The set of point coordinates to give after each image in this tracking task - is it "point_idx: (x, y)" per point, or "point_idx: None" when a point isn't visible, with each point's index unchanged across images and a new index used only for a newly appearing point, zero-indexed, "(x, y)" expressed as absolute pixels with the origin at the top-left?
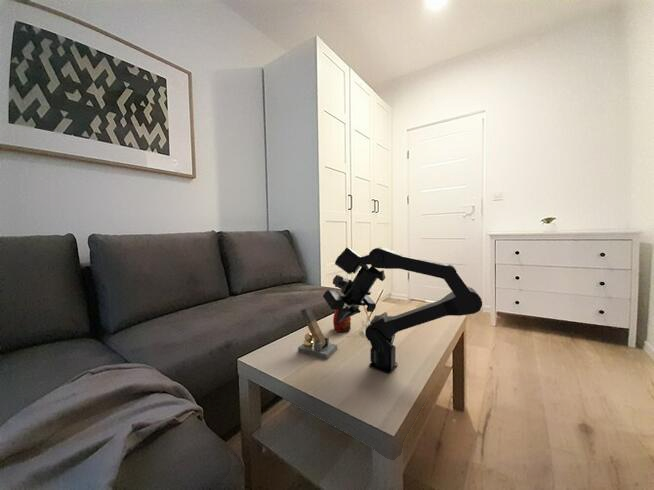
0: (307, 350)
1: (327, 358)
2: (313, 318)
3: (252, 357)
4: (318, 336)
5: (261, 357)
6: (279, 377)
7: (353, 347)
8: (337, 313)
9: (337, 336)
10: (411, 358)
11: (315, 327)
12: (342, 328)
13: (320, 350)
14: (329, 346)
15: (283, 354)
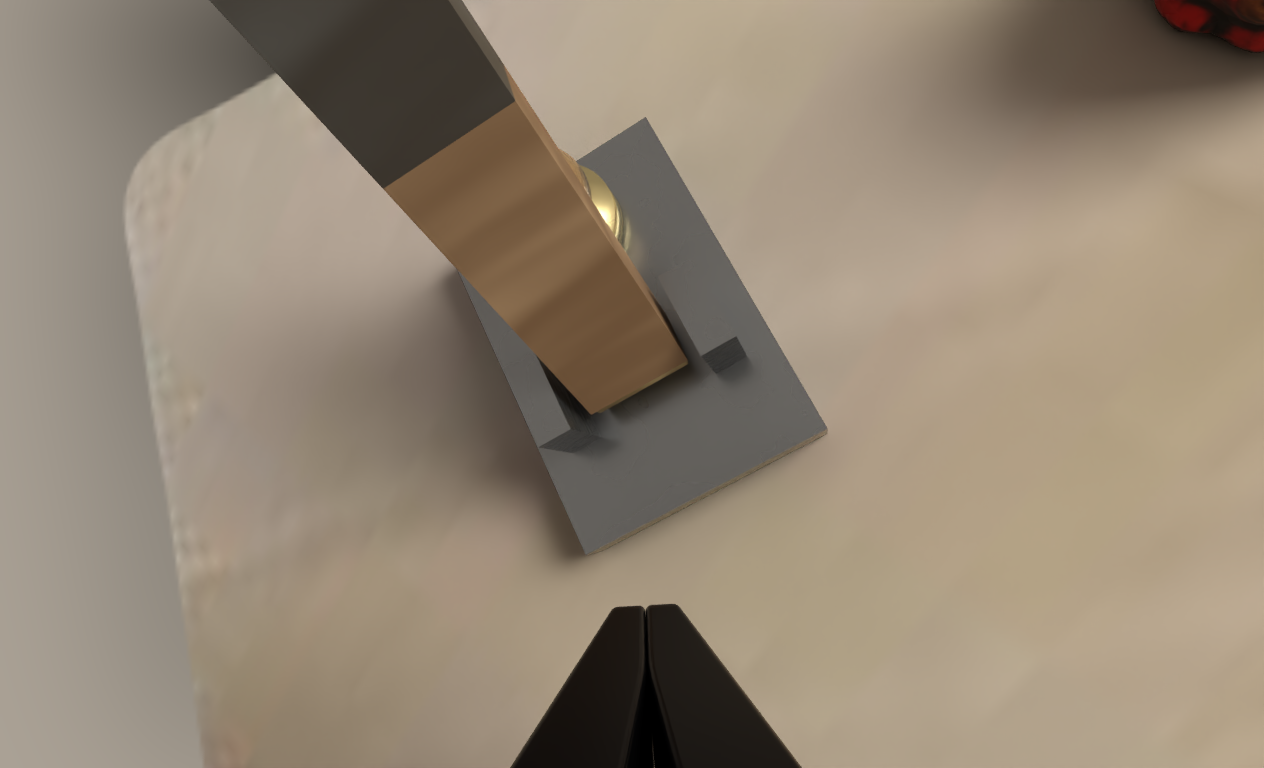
0: (493, 341)
1: (608, 547)
2: (449, 94)
3: (178, 165)
4: (543, 346)
5: (219, 197)
6: (181, 548)
7: (1044, 512)
8: (530, 736)
9: (1055, 131)
10: None
11: (491, 245)
12: (1243, 14)
13: (567, 450)
14: (720, 407)
15: (355, 237)
